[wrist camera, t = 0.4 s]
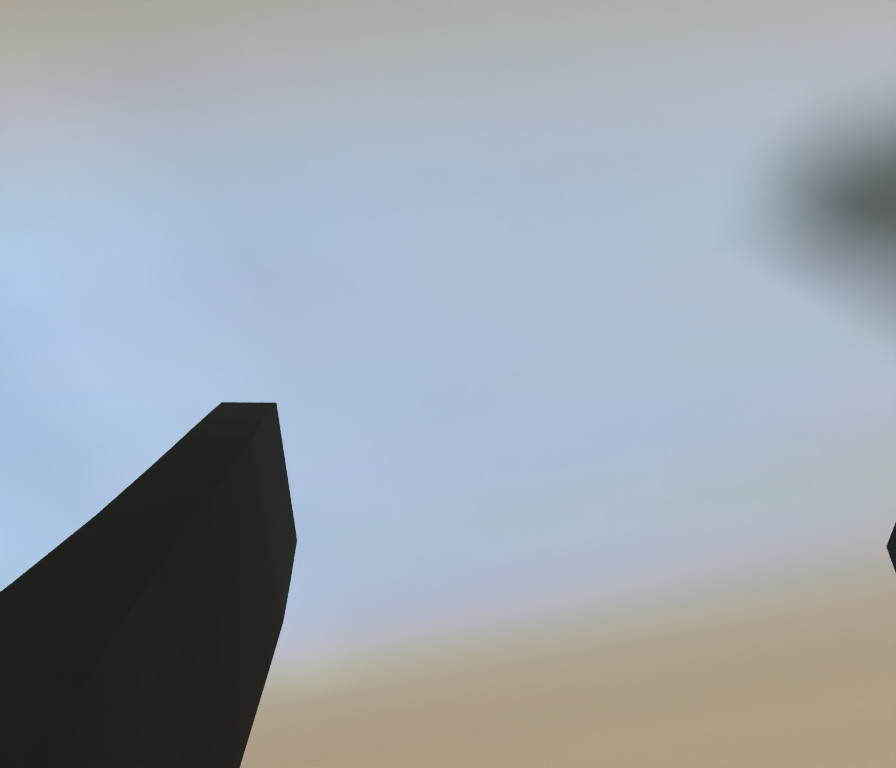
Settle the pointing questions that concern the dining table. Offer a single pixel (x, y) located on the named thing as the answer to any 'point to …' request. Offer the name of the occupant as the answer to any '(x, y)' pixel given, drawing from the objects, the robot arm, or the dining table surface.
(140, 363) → the dining table surface
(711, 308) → the dining table surface
